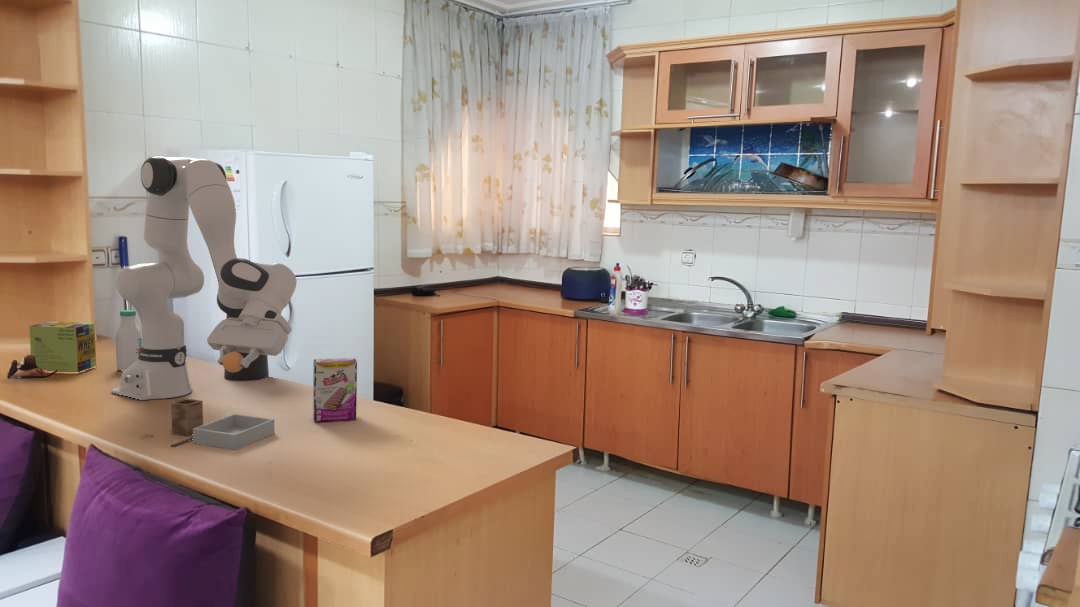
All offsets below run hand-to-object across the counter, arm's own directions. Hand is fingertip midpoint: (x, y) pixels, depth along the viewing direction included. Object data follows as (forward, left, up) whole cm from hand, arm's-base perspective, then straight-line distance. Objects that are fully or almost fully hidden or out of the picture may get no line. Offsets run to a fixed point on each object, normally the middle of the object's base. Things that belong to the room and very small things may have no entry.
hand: (232, 365), depth 182 cm
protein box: (-99, +36, -19) cm, 107 cm away
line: (-9, +1, -18) cm, 20 cm away
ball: (0, +1, +1) cm, 1 cm away
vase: (-42, +55, -19) cm, 71 cm away
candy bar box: (+12, +25, -19) cm, 33 cm away
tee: (-14, 0, -18) cm, 23 cm away
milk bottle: (-82, +46, -19) cm, 95 cm away
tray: (0, +1, -18) cm, 18 cm away
